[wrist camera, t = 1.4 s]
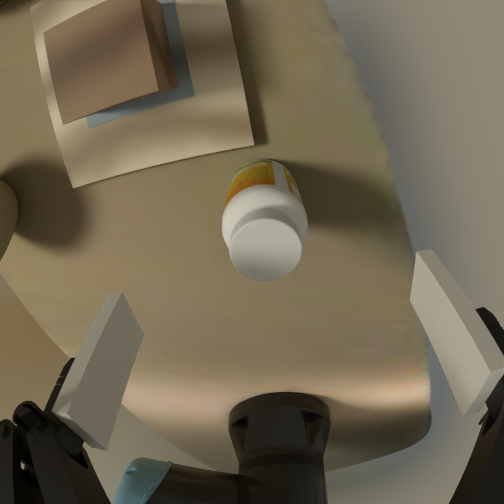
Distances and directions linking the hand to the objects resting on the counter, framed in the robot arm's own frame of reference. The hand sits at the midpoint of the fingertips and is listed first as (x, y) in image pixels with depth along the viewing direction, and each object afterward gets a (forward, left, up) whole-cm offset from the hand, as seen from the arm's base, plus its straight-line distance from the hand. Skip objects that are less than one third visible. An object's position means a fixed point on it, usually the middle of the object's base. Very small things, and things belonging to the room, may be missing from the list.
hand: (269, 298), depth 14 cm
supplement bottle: (0, 0, -14) cm, 14 cm away
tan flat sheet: (+13, +8, -14) cm, 21 cm away
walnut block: (+13, +8, -13) cm, 20 cm away
